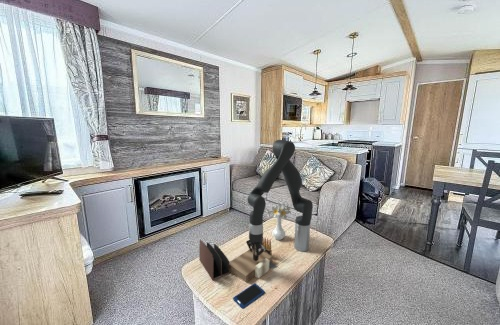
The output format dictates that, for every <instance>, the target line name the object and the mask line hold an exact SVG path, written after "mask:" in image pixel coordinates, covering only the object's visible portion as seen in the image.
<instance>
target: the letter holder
mask: <svg viewBox="0 0 500 325" xmlns="http://www.w3.org/2000/svg"><path fill="white" fill-rule="evenodd" d="M198 251H199V252H198V253H199V259H198V260H199V261H200V263H201V264H202V266H203V268H204V270H205V272H206V273H207V275H208V276H209V277H210V279H211V280H212V281H215V280H218V279H220V278H222V277H225V276H227V275H229V274H231V272H230V267H229V262H230V261H229V259H228V257H227V256H226V253H224V252H223V251H222V249H221V248H220V247H219V246H218V245H217V244H215V243H214V244H213V246H212V245H211V244H210V243H209V242H206V243H204V242H203V240H201V239H199V250H198Z"/></svg>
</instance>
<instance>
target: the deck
mask: <svg viewBox="0 0 500 325" xmlns="http://www.w3.org/2000/svg"><path fill="white" fill-rule="evenodd" d="M251 249H252V248H251ZM260 251H261V250H259V252H260ZM265 258H267V259H268V260H270V262H269V264H270V263H272V264H273V255H272V256H271V255H269V254H268V253H266V252H263V253H262V254H260V255H259V259H258V260H257V261H254V260H253V253H252V252H251V251H250V249H249V248H248V250H246V251H245V252H243V253H242V254H240V255H238V256H236V257H235V258H234V259H232V260H230V261H229V267H230V274H233V275H235V276H236V277H237V278H239V279H240V280H242V281H243V282H244V283H247V282H248V281H250V280H251V279H252V278H254V277H255V266H256V265H257V264H259V263H260V262H261V261H263V260H264V259H265Z"/></svg>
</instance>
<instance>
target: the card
mask: <svg viewBox="0 0 500 325" xmlns="http://www.w3.org/2000/svg"><path fill="white" fill-rule="evenodd" d="M269 262H270V260H268V259H267V258H265V259H264V260H263V261H261V262H260V263H259V264H257V265H256V266H255V276H254V277H255V278H257V279H260V278H261V277H263V275H265V274H266V273H268V271H270V269H269Z"/></svg>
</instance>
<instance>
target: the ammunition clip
mask: <svg viewBox="0 0 500 325" xmlns="http://www.w3.org/2000/svg"><path fill="white" fill-rule="evenodd" d="M262 243H263V247H264V248H266V250H265V251H264V252H266V253H268V254H269V255H271V256H272V257H273V255H272V254H273V253H272V252H273V251H272V240H271V239H269V238H266V237H263V240H262ZM260 249H261V248H260Z"/></svg>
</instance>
